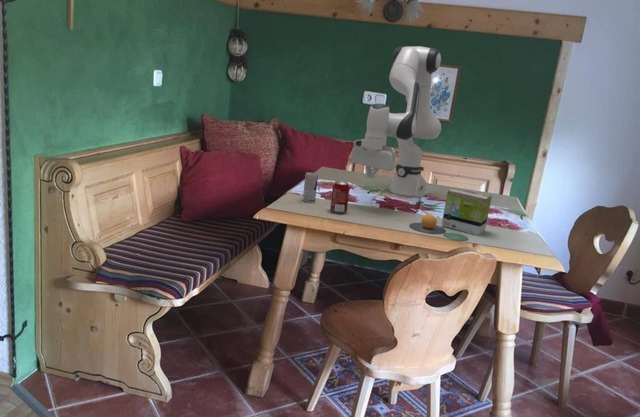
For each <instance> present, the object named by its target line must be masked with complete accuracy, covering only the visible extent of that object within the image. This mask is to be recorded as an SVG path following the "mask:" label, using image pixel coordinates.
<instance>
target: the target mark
mask: <svg viewBox="0 0 640 417" xmlns="http://www.w3.org/2000/svg"><path fill="white" fill-rule="evenodd" d="M408 226H409V228H410V229H412V230H413V231H417V232H420V233H424V234H432V235H444V233H447V230H446V229H445V227H443V226H439V225H437V224H436V225H435V227H434V228H432V229H427V228H425V227H424V226H423V225H422V222H411V223H409V225H408Z"/></svg>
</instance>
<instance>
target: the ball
mask: <svg viewBox="0 0 640 417" xmlns="http://www.w3.org/2000/svg"><path fill="white" fill-rule="evenodd" d="M421 223H422V225H423V226H424V227H425V228H427V229H432V228H434V227H435V225H437V218H436V217H435V216H434V215H433V214H432V213H431V214H428V213H427V214H425V215H424V216H422V218H421Z"/></svg>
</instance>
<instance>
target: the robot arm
mask: <svg viewBox="0 0 640 417" xmlns="http://www.w3.org/2000/svg"><path fill="white" fill-rule="evenodd" d="M391 62H392V63H391V64H392V67H391V68H390V72H389V78H388V80H389V83H390V85H391V87H392V89H394V90H395V91H396V92H398V93H400V94H402V95H403V96H405V101H406V103H407V105H406V109H405V110H406V112H398V113H394V112H393V113H392V112H390V106H389V105H388V104H385V103H374V104H371V105H370V108H369V111H368V114H367V119H366V132H365V135H364V138H362V139H357V140H354V141H353V147H352V150H351V156H350V161H351V163H352V164H356V165H360V166H365V167H364V169H365V171H366V177H367V178H369V179H375V178H376V174H377V172H379V170H381V171H387V172H391V171H392V172H393V171H394V170H395V173H393V175H392V179H391V184H390V186H389V187H388V190H389V191H390V192H391V193H392V194H395V195H400V196H406V197H415V198H423V197H425V196H427V195H429V194H431V191H430V190H427V181H426V179H425V178H424V177H423V176H422V172H423V171H424V172H425V167H424V166H421V162H422V157H423V156H422V154H423V152H422V149H421V148H420V146H418V145H417V144H415V143H414V140H413V138H416V139H422V140H434V139H437V138H438V137H439V135H440V134H441V131H442V123H441V121H440V119H439V118H437V117H436V115H435V114H434V112H433V110H432V106H431V102H430V101H431V89H432V75H433V73H435V72H436V71H438V70H439V68H440V67H441V66H440V65H441V64H442V54H441V52H440V51H439V50H438V49H437V48H435V47H427V46H426V47H425V46H421V45H420V46H419V45H417V46H405V45H403V46H402V45H401V46H398V47H396V48H395V49H394V50H393V52H392V56H391ZM388 137H391V138H395V139H396V140H397V145H398V158H397V163H396V155H397V154H396V150H395V149H394V148H393V147H388V146H387V139H388ZM371 169H372V171H371Z"/></svg>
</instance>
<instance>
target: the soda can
mask: <svg viewBox="0 0 640 417" xmlns="http://www.w3.org/2000/svg"><path fill="white" fill-rule="evenodd" d="M331 189H332V191H331V198H330V208H329V209H330V211H331V212H332V213H335V214H339V213H342V214H345V213H348V212H347V211H348V205H349V196H350V189H351V188H350V186H349V182H347V181H340V180H338V181H334V184H333V185H332V188H331Z"/></svg>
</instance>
